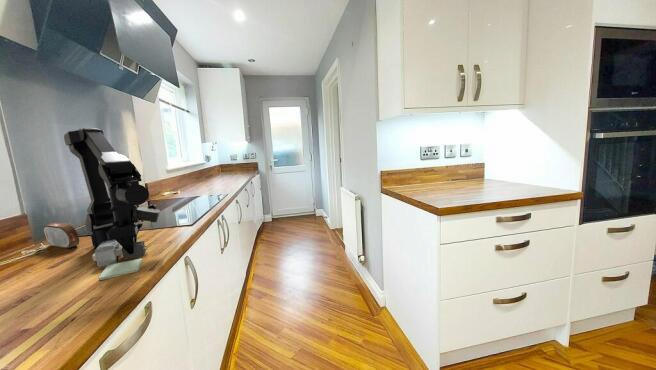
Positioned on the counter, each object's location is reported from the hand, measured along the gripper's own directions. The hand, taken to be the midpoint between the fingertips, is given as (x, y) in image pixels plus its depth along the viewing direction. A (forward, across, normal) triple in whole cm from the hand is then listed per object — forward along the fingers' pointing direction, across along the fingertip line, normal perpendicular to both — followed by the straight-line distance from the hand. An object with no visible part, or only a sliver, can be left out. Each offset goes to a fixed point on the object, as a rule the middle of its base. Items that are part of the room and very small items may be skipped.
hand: (132, 251), depth 78 cm
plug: (+1, 0, +3) cm, 3 cm away
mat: (+1, -10, +1) cm, 10 cm away
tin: (+2, +25, +24) cm, 34 cm away
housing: (+1, 0, +6) cm, 6 cm away
